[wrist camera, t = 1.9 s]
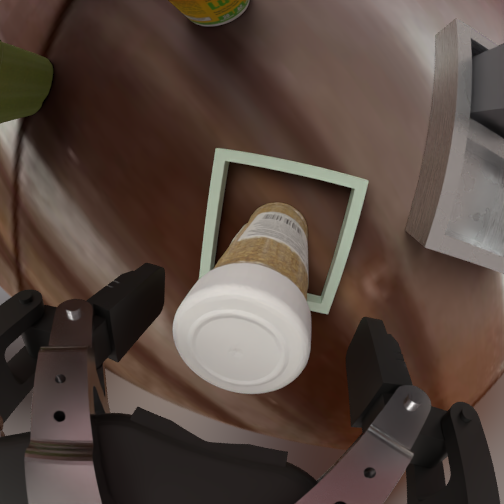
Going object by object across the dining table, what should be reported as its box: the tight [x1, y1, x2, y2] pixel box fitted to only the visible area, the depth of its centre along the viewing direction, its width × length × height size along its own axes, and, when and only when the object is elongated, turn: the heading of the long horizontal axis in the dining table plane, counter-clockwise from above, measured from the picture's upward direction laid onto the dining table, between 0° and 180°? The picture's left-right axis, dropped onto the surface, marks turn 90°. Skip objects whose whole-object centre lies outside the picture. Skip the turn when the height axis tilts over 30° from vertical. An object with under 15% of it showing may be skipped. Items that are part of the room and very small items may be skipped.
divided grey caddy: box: [405, 18, 504, 274], centre depth 13 cm, size 9×17×4 cm, turn 170°
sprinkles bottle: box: [173, 202, 311, 394], centre depth 14 cm, size 5×5×14 cm
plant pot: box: [0, 40, 53, 123], centre depth 14 cm, size 12×12×11 cm
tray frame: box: [199, 148, 368, 314], centre depth 20 cm, size 11×11×1 cm
